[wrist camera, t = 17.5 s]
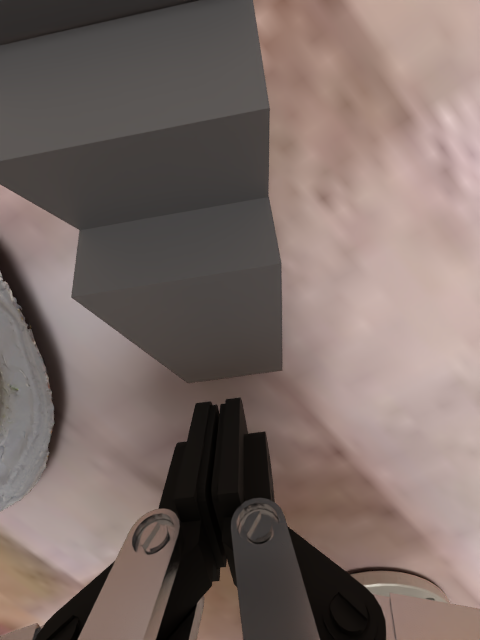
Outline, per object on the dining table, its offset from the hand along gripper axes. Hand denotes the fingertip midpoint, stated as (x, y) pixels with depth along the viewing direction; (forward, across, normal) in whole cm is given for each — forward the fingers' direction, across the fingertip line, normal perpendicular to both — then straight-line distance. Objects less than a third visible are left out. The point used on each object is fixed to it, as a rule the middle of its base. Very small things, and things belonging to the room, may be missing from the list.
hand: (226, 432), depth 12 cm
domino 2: (+6, 0, 0) cm, 6 cm away
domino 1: (+6, 0, -6) cm, 8 cm away
